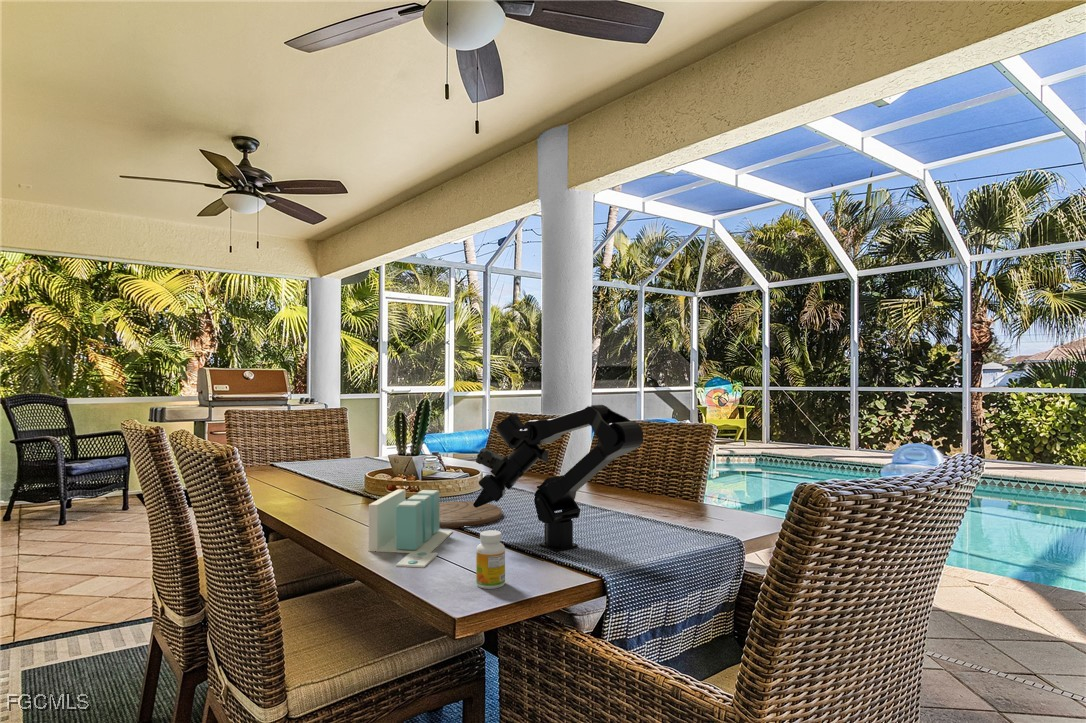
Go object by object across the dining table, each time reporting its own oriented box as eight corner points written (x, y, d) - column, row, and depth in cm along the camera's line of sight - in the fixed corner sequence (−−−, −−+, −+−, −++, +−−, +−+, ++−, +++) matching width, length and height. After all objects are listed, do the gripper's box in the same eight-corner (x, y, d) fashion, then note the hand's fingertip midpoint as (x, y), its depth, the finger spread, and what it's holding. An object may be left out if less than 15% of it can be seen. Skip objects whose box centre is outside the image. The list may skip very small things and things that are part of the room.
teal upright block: (431, 536, 152) (431, 495, 152) (425, 541, 147) (425, 499, 147) (413, 536, 152) (413, 494, 152) (406, 541, 148) (406, 498, 148)
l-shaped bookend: (452, 532, 158) (452, 490, 158) (429, 553, 140) (429, 506, 140) (398, 530, 160) (398, 489, 160) (368, 551, 142) (368, 504, 142)
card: (437, 554, 139) (437, 552, 139) (424, 567, 130) (424, 564, 130) (411, 553, 140) (411, 551, 140) (396, 566, 131) (396, 563, 131)
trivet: (518, 513, 180) (518, 506, 180) (467, 534, 158) (467, 526, 158) (446, 504, 192) (446, 498, 192) (389, 522, 170) (389, 515, 170)
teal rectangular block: (439, 529, 158) (439, 490, 158) (433, 534, 154) (433, 493, 154) (421, 529, 159) (422, 489, 159) (415, 533, 154) (415, 493, 154)
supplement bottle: (473, 581, 122) (473, 530, 122) (500, 578, 124) (500, 528, 124) (480, 591, 117) (480, 537, 117) (508, 587, 119) (508, 535, 119)
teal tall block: (422, 544, 145) (422, 501, 145) (416, 549, 141) (416, 505, 141) (403, 543, 146) (403, 500, 146) (396, 549, 141) (396, 504, 142)
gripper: (503, 433, 163) (461, 475, 165) (487, 441, 145) (440, 489, 146) (534, 464, 162) (491, 507, 164) (521, 477, 144) (474, 524, 145)
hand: (474, 506), depth 155 cm, fingers closed
